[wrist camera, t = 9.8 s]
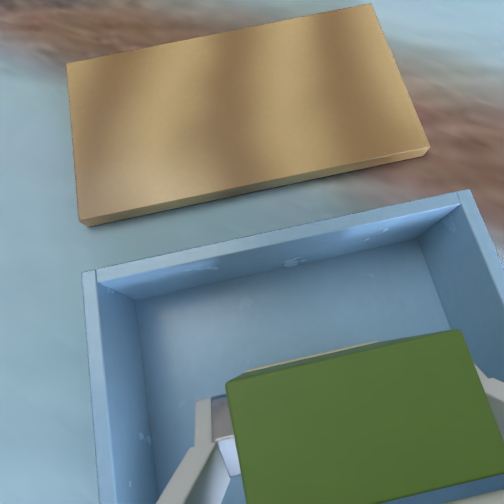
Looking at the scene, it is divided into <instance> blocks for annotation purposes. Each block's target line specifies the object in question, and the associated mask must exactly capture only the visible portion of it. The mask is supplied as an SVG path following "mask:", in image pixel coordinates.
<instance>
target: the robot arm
mask: <svg viewBox="0 0 504 504" xmlns="http://www.w3.org/2000/svg"><path fill="white" fill-rule="evenodd" d="M474 365H475V364H474ZM475 367H476V370H477V373H478V375H479V378H480V381H481V383H482V386H483V388H484V391H485V394H486V396H487V399H488V402H489V404H490V407H491V409H492V412H493V415H494V417H495V420H496V423H497V425H498V428H499V430H500V433H501V436H502V438H503V441H504V382H502V381H499V380H497V379H495V378H487V377H486V375H485V374H484V373H483V372H482V371H481V370H480V369H479V368H478V367H477V366H476V365H475ZM238 475H241V471H240V466H239V460H238V455H237V449H236V444H235V439H234V433H233V428H232V422H231V417H230V411H229V406H228V400H227V395H226V394H223V395H218V396H213V397H209V398H204V399H199V400H196V404H195V436H194V447H191V448H189V450H188V452H187V453H186V455H185V456H184V458H183V460H182V461H181V463H180V465H179V466H178V468H177V470H176V471H175V473H174V474H173V476H172V478H171V479H170V481H169V483H168V484H167V486H166V488H165V489H164V491H163V492H162V494H161V496H160V497H159V499H158V501H157V502H156V504H221V502H222V499H223V497H224V495H225V492H226V490H227V487H228V485H229V482H230V480H231V479H230V477H234V476H238ZM442 504H504V489H500V490H496V491H492V492H488V493H484V494H480V495H475V496H471V497H467V498H463V499H459V500H454V501H450V502H446V503H442Z"/></svg>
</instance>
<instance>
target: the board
mask: <svg viewBox="0 0 504 504" xmlns="http://www.w3.org/2000/svg"><path fill="white" fill-rule="evenodd" d="M66 66H67V78H68V91H69V103H70V116H71V128H72V141H73V153H74V165H75V178H76V190H77V203H78V215H79V221H80V222H81V223H83V224H84V225H85V226H87V227H89V226H94V225H99V224H104V223H108V222H113V221H118V220H122V219H127V218H132V217H137V216H141V215H146V214H151V213H156V212H160V211H165V210H170V209H174V208H179V207H184V206H189V205H193V204H198V203H203V202H207V201H212V200H217V199H222V198H226V197H231V196H236V195H241V194H245V193H250V192H255V191H259V190H264V189H269V188H274V187H278V186H283V185H288V184H293V183H297V182H302V181H307V180H311V179H316V178H321V177H326V176H330V175H335V174H340V173H345V172H349V171H354V170H359V169H363V168H368V167H373V166H378V165H382V164H387V163H392V162H396V161H401V160H406V159H411V158H415V157H420V156H423V155H424V154H425V153H426V152H427V150H428V149H429V148H430V145H429V142H428V140H427V137H426V135H425V132H424V130H423V128H422V125H421V123H420V120H419V118H418V116H417V113H416V111H415V108H414V106H413V103H412V101H411V99H410V96H409V94H408V91H407V89H406V87H405V84H404V82H403V79H402V77H401V74H400V72H399V70H398V67H397V65H396V62H395V60H394V58H393V55H392V53H391V50H390V48H389V45H388V43H387V41H386V38H385V36H384V33H383V31H382V29H381V26H380V24H379V21H378V19H377V16H376V14H375V12H374V9H373V7H372V4H371V3H369V4H364V5H359V6H354V7H348V8H343V9H338V10H333V11H328V12H323V13H318V14H313V15H308V16H303V17H298V18H293V19H288V20H283V21H278V22H273V23H268V24H263V25H258V26H253V27H248V28H243V29H238V30H233V31H228V32H223V33H218V34H212V35H207V36H202V37H197V38H192V39H187V40H182V41H177V42H172V43H167V44H162V45H157V46H152V47H147V48H142V49H137V50H132V51H127V52H122V53H117V54H112V55H107V56H102V57H97V58H92V59H87V60H82V61H76V62H71V63H67V64H66Z"/></svg>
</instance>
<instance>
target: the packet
mask: <svg viewBox="0 0 504 504" xmlns="http://www.w3.org/2000/svg"><path fill="white" fill-rule="evenodd" d="M225 389H226V395H227V400H228V406H229V411H230V417H231V422H232V428H233V433H234V439H235V444H236V449H237V455H238V460H239V466H240V471H241V477H242V482H243V488H244V493H245V499H246V504H380V503H384V502H389V501H393V500H397V499H401V498H405V497H409V496H414V495H418V494H422V493H426V492H430V491H435V490H439V489H443V488H447V487H451V486H455V485H460V484H464V483H468V482H472V481H476V480H481V479H485V478H489V477H493V476H497V475H501V474H504V441H503V438H502V436H501V433H500V430H499V428H498V425H497V423H496V420H495V417H494V415H493V412H492V409H491V407H490V404H489V402H488V399H487V396H486V394H485V391H484V388H483V386H482V383H481V381H480V378H479V375H478V373H477V370H476V367H475V365H474V362H473V360H472V357H471V354H470V352H469V349H468V346H467V344H466V341H465V339H464V336H463V333H462V332H461V330H459V329H453V330H447V331H441V332H435V333H429V334H423V335H417V336H411V337H405V338H399V339H394V340H388V341H382V342H378V341H373V342H367V343H362V344H358V345H353V346H349V347H345V348H340V349H336V350H331V351H327V352H323V353H318V354H314V355H309V356H305V357H301V358H296V359H292V360H287V361H283V362H279V363H274V364H270V365H265V366H261V367H257V368H252V369H248V370H246V371H245V372H244V373H242V374H241V375H239V376H237V377H235V378H233V379H231V380H229V381H228V382H226V384H225Z"/></svg>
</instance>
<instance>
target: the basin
mask: <svg viewBox="0 0 504 504" xmlns="http://www.w3.org/2000/svg"><path fill="white" fill-rule="evenodd" d="M81 275H82V288H83V300H84V313H85V326H86V338H87V351H88V364H89V376H90V389H91V402H92V414H93V427H94V440H95V452H96V465H97V478H98V490H99V503H100V504H156V502H157V501H158V499H159V497H160V496H161V494H162V492H163V491H164V489H165V488H166V486H167V484H168V483H169V481H170V479H171V478H172V476H173V474H174V473H175V471H176V470H177V468H178V466H179V465H180V463H181V461H182V460H183V458H184V456H185V455H186V453H187V452H188V450H189V448H191V447H194V436H195V404H196V400H199V399H204V398H209V397H213V396H218V395H223V394H226V389H225V384H226V382H228V381H229V380H231V379H233V378H235V377H237V376H239V375H241V374H242V373H244V372H245V371H246V370H248V369H252V368H257V367H261V366H265V365H270V364H274V363H279V362H283V361H287V360H292V359H296V358H301V357H305V356H309V355H314V354H318V353H323V352H327V351H331V350H336V349H340V348H345V347H349V346H353V345H358V344H362V343H367V342H373V341H378V342H382V341H388V340H394V339H399V338H405V337H411V336H417V335H423V334H429V333H435V332H441V331H447V330H453V329H459V330H461V332H462V333H463V336H464V339H465V341H466V344H467V346H468V349H469V352H470V354H471V357H472V360H473V362H474V364H475V365H476V366H477V367H478V368H479V369H480V370H481V371H482V372H483V373H484V374H485V375H486V377H487V378H495V379H497V380H499V381H502V382H504V267H503V265H502V263H501V261H500V258H499V256H498V254H497V251H496V249H495V247H494V244H493V242H492V240H491V237H490V235H489V233H488V230H487V228H486V226H485V224H484V221H483V219H482V217H481V214H480V212H479V210H478V207H477V205H476V203H475V200H474V198H473V196H472V194H471V191H470V189H466V190H461V191H457V192H451V193H446V194H442V195H437V196H432V197H428V198H423V199H418V200H414V201H409V202H404V203H400V204H395V205H391V206H386V207H381V208H377V209H372V210H367V211H363V212H358V213H353V214H349V215H344V216H339V217H335V218H330V219H325V220H321V221H316V222H311V223H307V224H302V225H298V226H293V227H288V228H284V229H279V230H274V231H270V232H265V233H260V234H256V235H251V236H246V237H242V238H237V239H232V240H228V241H223V242H218V243H214V244H209V245H205V246H200V247H195V248H191V249H186V250H181V251H177V252H172V253H167V254H163V255H158V256H153V257H149V258H144V259H139V260H135V261H130V262H126V263H121V264H116V265H112V266H107V267H102V268H98V269H96V270H95V269H94V270H89V271H84V272H82V273H81ZM230 479H231V480H230V482H229V485H228V487H227V490H226V492H225V495H224V497H223V499H222V502H221V504H246V499H245V493H244V488H243V482H242V477H241V475H238V476H234V477H230ZM500 489H504V474H501V475H497V476H493V477H489V478H485V479H481V480H476V481H472V482H468V483H464V484H460V485H455V486H451V487H447V488H443V489H439V490H435V491H430V492H426V493H422V494H418V495H414V496H409V497H405V498H401V499H397V500H393V501H389V502H384V503H380V504H442V503H446V502H450V501H454V500H459V499H463V498H467V497H471V496H475V495H480V494H484V493H488V492H492V491H496V490H500Z"/></svg>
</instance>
